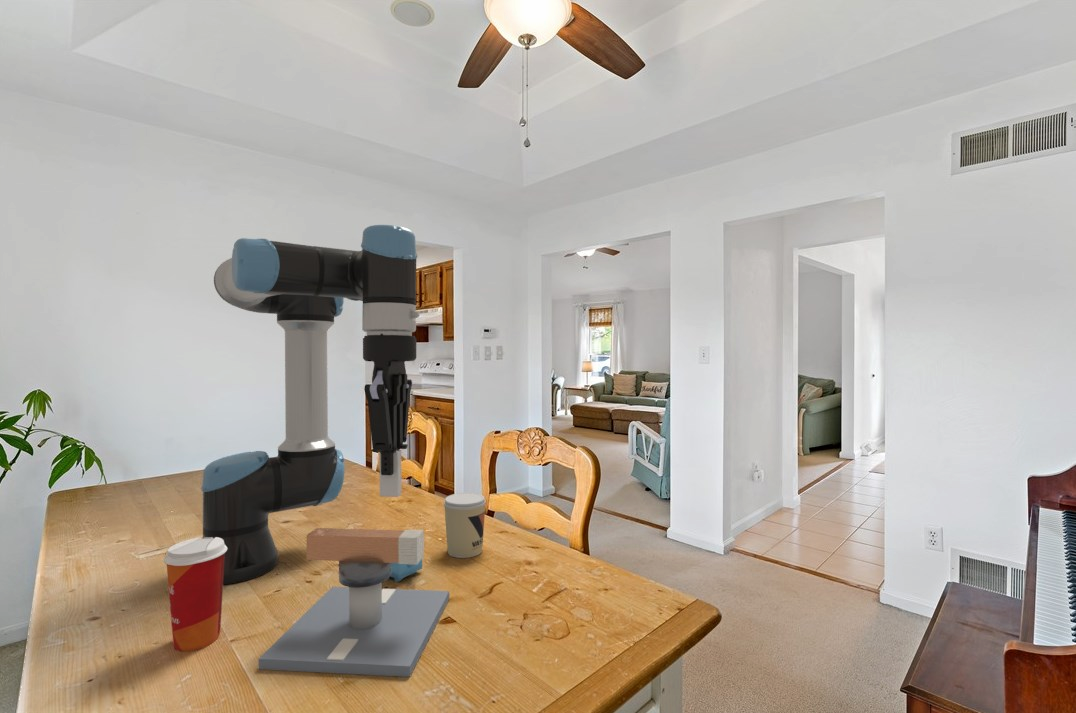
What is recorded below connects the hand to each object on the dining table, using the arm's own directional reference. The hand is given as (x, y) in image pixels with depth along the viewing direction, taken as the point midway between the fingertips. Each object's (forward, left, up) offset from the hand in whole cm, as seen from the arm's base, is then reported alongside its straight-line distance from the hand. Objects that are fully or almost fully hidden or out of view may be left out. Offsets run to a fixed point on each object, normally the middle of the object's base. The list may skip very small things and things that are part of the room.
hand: (390, 495), depth 74 cm
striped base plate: (-7, +7, -24) cm, 26 cm away
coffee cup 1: (-32, +2, -24) cm, 40 cm away
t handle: (-7, +7, -15) cm, 18 cm away
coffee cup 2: (+2, +40, -24) cm, 47 cm away
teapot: (-8, +27, -25) cm, 37 cm away
